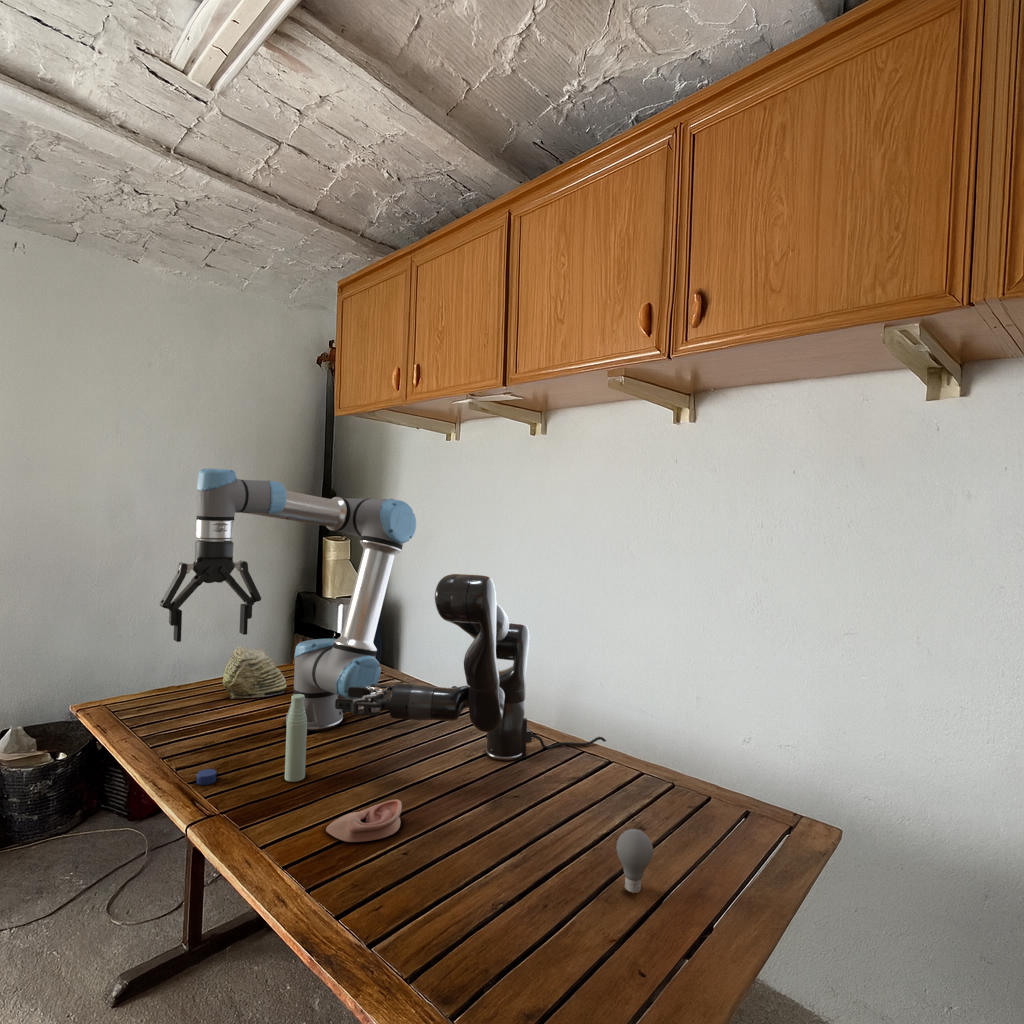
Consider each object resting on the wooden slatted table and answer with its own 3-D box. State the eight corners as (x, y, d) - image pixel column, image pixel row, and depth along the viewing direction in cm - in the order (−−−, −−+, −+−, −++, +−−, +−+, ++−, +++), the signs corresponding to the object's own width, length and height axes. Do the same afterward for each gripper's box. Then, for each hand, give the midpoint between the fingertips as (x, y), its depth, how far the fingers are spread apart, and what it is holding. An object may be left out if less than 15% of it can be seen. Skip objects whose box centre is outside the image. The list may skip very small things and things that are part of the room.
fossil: (218, 695, 195) (220, 647, 195) (278, 685, 208) (279, 640, 207) (228, 703, 189) (230, 653, 188) (289, 692, 201) (290, 645, 201)
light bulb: (610, 879, 108) (613, 822, 108) (644, 879, 109) (647, 822, 109) (619, 902, 102) (622, 840, 102) (655, 901, 103) (658, 840, 103)
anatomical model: (318, 816, 117) (346, 789, 129) (317, 837, 118) (346, 808, 129) (385, 827, 115) (408, 798, 126) (384, 848, 115) (407, 818, 126)
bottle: (284, 782, 140) (287, 699, 139) (284, 774, 144) (287, 693, 143) (305, 780, 141) (308, 698, 141) (304, 772, 145) (307, 692, 145)
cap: (219, 777, 141) (219, 769, 141) (211, 785, 137) (211, 777, 137) (201, 776, 141) (202, 768, 141) (192, 784, 137) (193, 776, 137)
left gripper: (155, 541, 126) (151, 647, 127) (278, 540, 143) (274, 633, 144) (145, 539, 132) (142, 640, 132) (265, 538, 149) (262, 627, 149)
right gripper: (421, 676, 147) (352, 672, 148) (407, 694, 133) (331, 690, 134) (420, 708, 147) (351, 703, 148) (405, 730, 133) (330, 725, 134)
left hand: (211, 637), depth 138 cm, fingers open, 13 cm apart
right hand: (342, 697), depth 141 cm, fingers open, 8 cm apart
